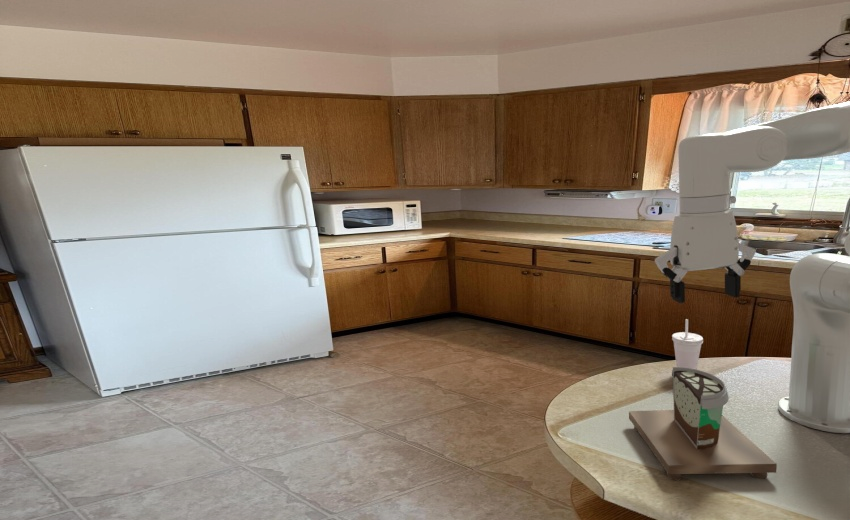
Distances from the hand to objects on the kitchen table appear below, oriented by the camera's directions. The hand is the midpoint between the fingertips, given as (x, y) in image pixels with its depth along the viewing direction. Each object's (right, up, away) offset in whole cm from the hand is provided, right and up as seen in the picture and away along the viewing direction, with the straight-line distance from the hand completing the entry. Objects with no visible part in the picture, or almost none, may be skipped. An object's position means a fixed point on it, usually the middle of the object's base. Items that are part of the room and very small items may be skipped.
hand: (705, 298), depth 82 cm
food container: (-3, -24, -4) cm, 24 cm away
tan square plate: (-4, -26, -4) cm, 27 cm away
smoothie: (+11, -21, +25) cm, 34 cm away
